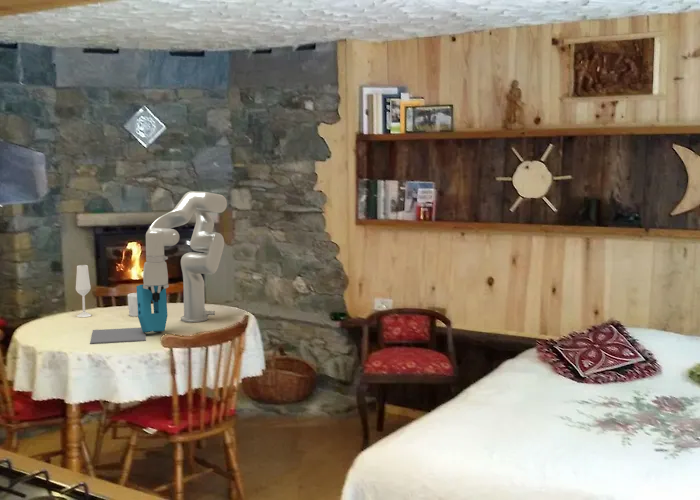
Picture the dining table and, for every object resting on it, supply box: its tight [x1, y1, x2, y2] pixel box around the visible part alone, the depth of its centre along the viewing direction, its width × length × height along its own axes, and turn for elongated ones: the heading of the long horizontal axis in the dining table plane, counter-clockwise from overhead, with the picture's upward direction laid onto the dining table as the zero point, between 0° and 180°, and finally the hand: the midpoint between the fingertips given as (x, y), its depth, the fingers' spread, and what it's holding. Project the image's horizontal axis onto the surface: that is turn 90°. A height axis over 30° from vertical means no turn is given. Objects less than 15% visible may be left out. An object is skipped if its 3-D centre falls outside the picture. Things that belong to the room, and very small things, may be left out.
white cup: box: [127, 292, 138, 317], centre depth 363 cm, size 8×8×10 cm
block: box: [136, 284, 168, 333], centre depth 329 cm, size 12×5×20 cm, turn 130°
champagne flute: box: [75, 264, 92, 318], centre depth 360 cm, size 7×7×24 cm
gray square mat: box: [89, 327, 147, 345], centre depth 324 cm, size 22×22×1 cm
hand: (156, 301), depth 326 cm, fingers closed
